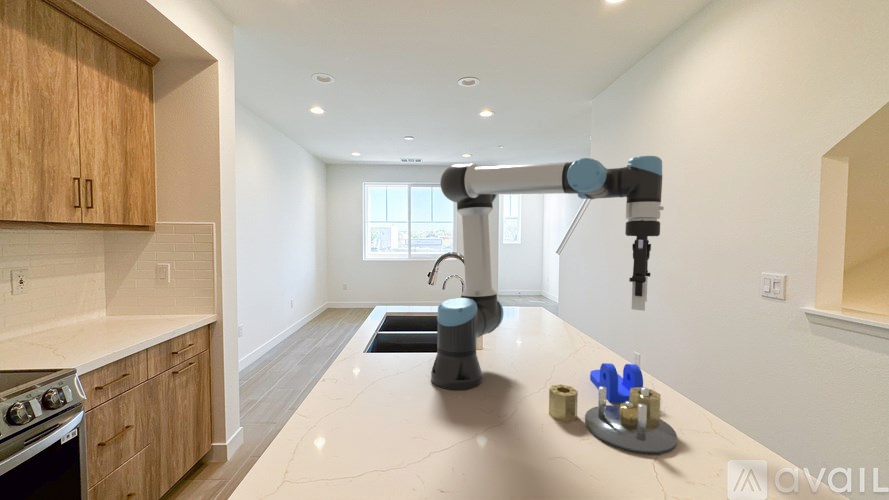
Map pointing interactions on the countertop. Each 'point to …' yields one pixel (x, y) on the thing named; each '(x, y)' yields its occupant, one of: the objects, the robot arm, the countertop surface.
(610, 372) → the bracket
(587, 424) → the carrier
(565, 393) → the octagonal wooden tube
